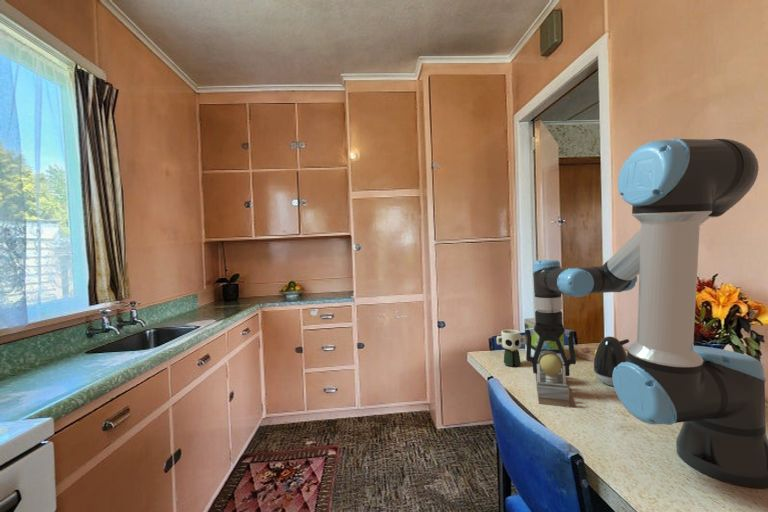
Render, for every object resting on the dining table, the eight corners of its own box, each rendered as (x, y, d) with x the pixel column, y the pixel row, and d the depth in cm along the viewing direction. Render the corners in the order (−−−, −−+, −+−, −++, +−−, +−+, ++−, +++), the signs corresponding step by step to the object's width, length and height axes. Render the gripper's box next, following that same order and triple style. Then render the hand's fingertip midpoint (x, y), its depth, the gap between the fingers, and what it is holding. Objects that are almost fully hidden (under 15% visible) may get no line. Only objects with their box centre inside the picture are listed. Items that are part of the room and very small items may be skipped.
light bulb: (544, 380, 111) (543, 349, 111) (566, 384, 107) (564, 352, 107) (536, 386, 107) (535, 354, 107) (558, 391, 102) (557, 357, 102)
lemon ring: (623, 363, 131) (623, 357, 130) (580, 360, 136) (580, 355, 136) (614, 352, 144) (613, 347, 144) (575, 350, 149) (575, 345, 149)
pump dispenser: (638, 389, 107) (637, 340, 107) (601, 388, 109) (599, 340, 109) (623, 377, 117) (621, 332, 117) (589, 376, 119) (587, 332, 119)
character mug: (499, 368, 132) (498, 333, 132) (495, 361, 139) (494, 329, 139) (529, 367, 131) (528, 333, 130) (524, 361, 138) (522, 328, 137)
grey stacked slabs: (569, 407, 98) (568, 372, 98) (538, 403, 101) (537, 369, 101) (560, 376, 120) (559, 348, 120) (535, 374, 123) (534, 346, 123)
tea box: (565, 362, 135) (564, 324, 134) (539, 363, 135) (538, 325, 135) (548, 350, 150) (546, 316, 150) (524, 351, 150) (523, 317, 150)
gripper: (582, 308, 106) (585, 383, 107) (514, 307, 114) (517, 377, 114) (586, 313, 99) (589, 393, 100) (514, 311, 107) (517, 386, 107)
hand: (551, 384), depth 107 cm, fingers closed on light bulb, 6 cm apart
